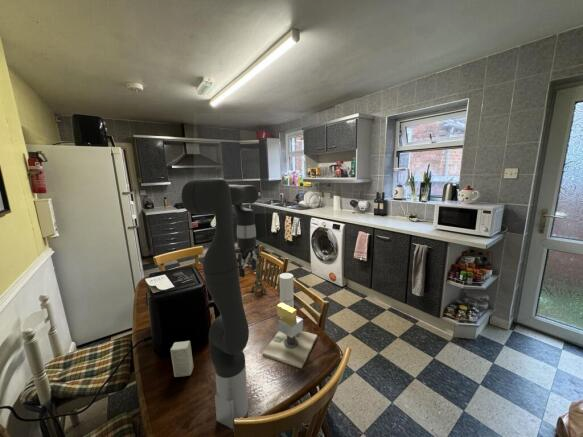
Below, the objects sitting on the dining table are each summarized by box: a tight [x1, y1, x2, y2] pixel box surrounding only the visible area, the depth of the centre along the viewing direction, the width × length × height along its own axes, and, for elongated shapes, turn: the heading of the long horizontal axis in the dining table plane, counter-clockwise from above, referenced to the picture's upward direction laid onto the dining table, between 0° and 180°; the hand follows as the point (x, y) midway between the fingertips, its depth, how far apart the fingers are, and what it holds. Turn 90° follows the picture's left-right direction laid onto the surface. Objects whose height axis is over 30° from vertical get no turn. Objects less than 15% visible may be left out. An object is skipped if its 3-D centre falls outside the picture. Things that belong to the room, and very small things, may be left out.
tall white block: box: [278, 272, 295, 320], centre depth 123 cm, size 7×7×25 cm
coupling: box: [276, 302, 304, 338], centre depth 105 cm, size 11×8×10 cm
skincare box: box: [169, 340, 194, 378], centre depth 91 cm, size 6×4×12 cm
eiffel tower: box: [249, 258, 268, 298], centre depth 153 cm, size 11×11×25 cm
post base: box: [262, 330, 318, 369], centre depth 105 cm, size 20×18×11 cm
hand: (248, 272), depth 97 cm, fingers open, 8 cm apart
